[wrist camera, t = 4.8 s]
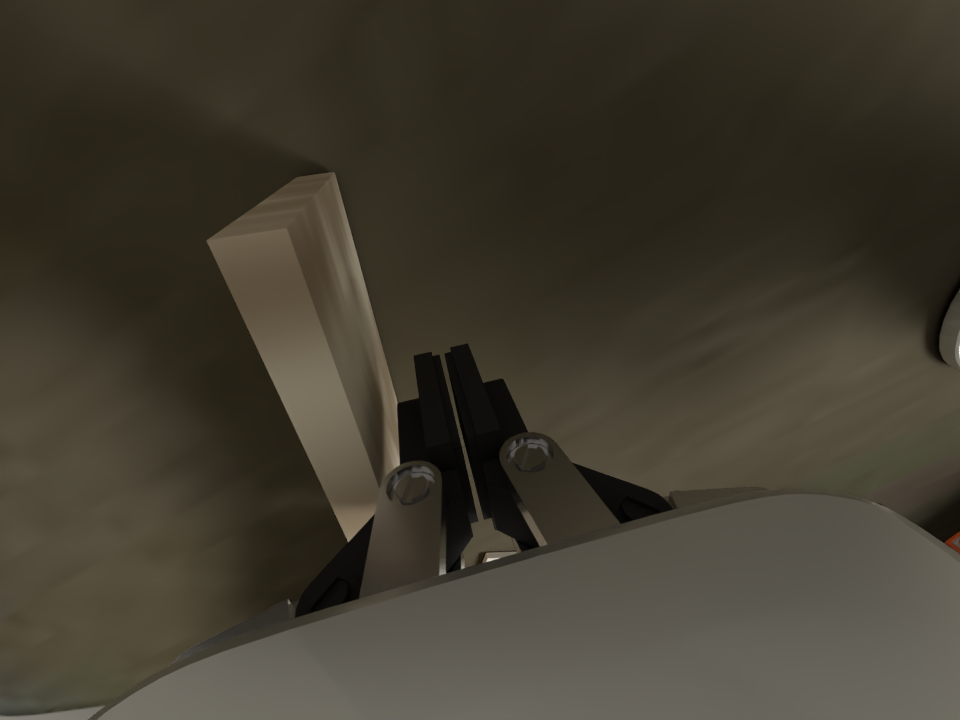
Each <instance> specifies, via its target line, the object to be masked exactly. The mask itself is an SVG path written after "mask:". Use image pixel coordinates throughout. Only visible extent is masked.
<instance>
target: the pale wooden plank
mask: <svg viewBox="0 0 960 720" xmlns="http://www.w3.org/2000/svg"><path fill="white" fill-rule="evenodd" d="M206 241H207V243H208V245H209V247H210V249H211V251H212V253H213V256H214V258H215V260H216V262H217V264H218V266H219V268H220V270H221V273H222V275H223V277H224V279H225V281H226V283H227V285H228V287H229V290H230V292H231V294H232V296H233V298H234V300H235V302H236V305H237V307H238V309H239V311H240V313H241V315H242V317H243V319H244V322H245V324H246V326H247V328H248V330H249V332H250V334H251V336H252V339H253V341H254V343H255V345H256V347H257V349H258V351H259V353H260V356H261V358H262V360H263V362H264V364H265V366H266V368H267V370H268V373H269V375H270V377H271V379H272V381H273V383H274V385H275V387H276V390H277V392H278V394H279V396H280V398H281V400H282V402H283V404H284V407H285V409H286V411H287V413H288V415H289V417H290V419H291V421H292V424H293V426H294V428H295V430H296V432H297V434H298V436H299V439H300V441H301V443H302V445H303V447H304V449H305V451H306V453H307V456H308V458H309V460H310V462H311V464H312V466H313V468H314V470H315V473H316V475H317V477H318V479H319V481H320V483H321V485H322V487H323V490H324V492H325V494H326V496H327V498H328V500H329V502H330V504H331V507H332V509H333V511H334V513H335V515H336V517H337V519H338V521H339V524H340V526H341V528H342V530H343V532H344V534H345V536H346V538H347V541H348V542H349V541H350V540H351V539H352V538H353V537H354V536H355V535H356V534H357V532H358V531H359V530H360V529H361V528H362V527H363V526H364V525H365V524H366V523H367V522H368V521H369V519H370V518H371V517H372V516H373V515H374V514H375V511H376V506H377V500H378V495H379V490H380V487H381V484H382V481H383V480H384V478H385V477H386V476H387V474H388V473H389V472H391V471H392V470H393V469H394V468H396V467H397V466H399V465H400V455H399V436H398V417H397V404H398V403H397V399H396V395H395V392H394V388H393V384H392V381H391V377H390V373H389V370H388V366H387V362H386V359H385V355H384V351H383V348H382V344H381V340H380V337H379V333H378V329H377V326H376V322H375V318H374V315H373V311H372V307H371V304H370V300H369V296H368V293H367V289H366V285H365V282H364V278H363V274H362V271H361V267H360V263H359V260H358V256H357V252H356V249H355V245H354V241H353V238H352V234H351V230H350V227H349V223H348V219H347V216H346V212H345V209H344V205H343V201H342V198H341V194H340V190H339V187H338V183H337V179H336V176H335V172H331V173H323V174H316V175H309V176H301V177H296V178H295V179H293V180H292V181H290V182H289V183H288V184H286V185H285V186H283V187H282V188H281V189H279V190H278V191H276V192H275V193H273V194H272V195H271V196H269V197H268V198H266V199H265V200H263V201H262V202H261V203H259V204H258V205H256V206H255V207H253V208H252V209H251V210H249V211H248V212H246V213H245V214H243V215H242V216H241V217H239V218H238V219H236V220H235V221H233V222H232V223H231V224H229V225H228V226H226V227H225V228H223V229H222V230H221V231H219V232H218V233H216V234H215V235H214V236H212V237H211V238H209V239H208V240H206Z"/></svg>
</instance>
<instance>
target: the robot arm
mask: <svg viewBox="0 0 960 720" xmlns="http://www.w3.org/2000/svg"><path fill="white" fill-rule="evenodd" d="M450 349H451V352H449V353H445V358H446V363H447V368H448V372H449V377H450V381H451V386H452V391H453V395H454V400H455V404H456V409H457V414H458V418H459V423H460V427H461V431H462V435H463V439H464V443H465V447H466V451H467V455H468V459H469V463H470V467H471V470H472V474H473V478H474V482H475V486H476V490H477V494H478V498H479V502H480V506H481V510H482V513H483V517H484V520H485V519H489V518H492V521H493V525H494V528H495V530H498V531H500V532H502V533H504V534H506V535H508V536H510V537H512V541H513V545H514V547H515V549H516V551H517V553H516V554H513V555H509V556H506V557H502V558H499V559H495V560H492V561H488V562H485V563H481V564H478V565H474V566H471V567H467V568H464V556H463V550H464V549H465V547H466V546H467V544H468V543H469V541H470V540H471V538H472V537H473V533H472V529H471V523H474V522H478V518H477V514H476V509H475V505H474V500H473V496H472V491H471V487H470V482H469V478H468V473H467V469H466V464H465V460H464V455H463V451H462V446H461V442H460V438H459V434H458V429H457V425H456V421H455V417H454V413H453V409H452V405H451V401H450V397H449V392H448V388H447V384H446V380H445V376H444V372H443V368H442V364H441V360H440V356H439V355H436V356H432V352H428V353H424V354H419V355H415V356H414V362H415V370H416V377H417V385H418V392H419V398H418V399H414V400H409V401H405V402H401V403H398V404H397V417H398V436H399V455H400V465H399V466H397V467H396V468H394V469H393V470H392V471H391V472H389V473H388V474H387V476H386V477H385V478H384V480H383V481H382V484H381V487H380V490H379V495H378V500H377V506H376V511H375V514H374V515H373V516H372V517H371V518H370V519H369V521H368V522H367V523H366V524H365V525H364V526H363V527H362V528H361V529H360V530H359V531H358V532H357V534H356V535H355V536H354V537H353V538H352V539H351V540H350V541H349V542H348V543H347V544H346V545H345V547H344V548H343V549H342V550H341V551H340V552H339V553H338V554H337V555H336V556H335V557H334V558H333V559H332V561H331V562H330V563H329V564H328V565H327V566H326V567H325V568H324V569H323V570H322V571H321V572H320V574H319V575H318V576H317V577H316V578H315V579H314V580H313V581H312V582H311V583H310V585H309V586H308V587H307V589H306V590H305V591H304V593H303V594H302V596H301V598H300V599H298V600H296V601H294V602H292V603H291V602H290V601H289V600H288V599H287V600H285V601H283V602H281V603H279V604H277V605H275V606H273V607H271V608H269V609H267V610H265V611H263V612H261V613H259V614H257V615H255V616H253V617H251V618H249V619H247V620H245V621H243V622H241V623H239V624H237V625H235V626H233V627H231V628H229V629H227V630H225V631H223V632H221V633H219V634H217V635H215V636H213V637H211V638H209V639H207V640H205V641H203V642H201V643H199V644H197V645H195V646H193V647H192V648H190V649H188V650H187V651H185V652H184V653H182V654H181V655H180V656H179V657H178V658H177V659H176V660H175V661H174V662H173V663H172V664H171V665H170V666H169V667H167V668H165V669H163V670H161V671H159V672H157V673H155V674H153V675H151V676H150V677H148V678H146V679H145V680H143V681H142V682H140V683H139V684H137V685H136V686H134V687H133V688H131V689H130V690H128V691H126V692H125V693H123V694H122V695H120V696H119V697H117V698H116V699H114V700H113V701H112V702H110V703H109V704H108V705H106V706H105V707H104V708H103V709H101V710H100V711H98V712H97V713H96V714H94V715H93V716H92V717H91V718H90V719H88V720H960V554H959V553H958V552H956V551H955V550H953V549H952V548H950V547H949V546H947V545H946V544H944V543H943V542H942V541H940V540H939V539H937V538H936V537H934V536H933V535H931V534H930V533H928V532H927V531H925V530H924V529H922V528H921V527H919V526H917V525H916V524H914V523H913V522H911V521H909V520H908V519H906V518H904V517H903V516H901V515H899V514H897V513H896V512H894V511H892V510H890V509H888V508H886V507H884V506H882V505H879V504H877V503H875V502H872V501H869V500H866V499H863V498H860V497H857V496H852V495H847V494H843V493H836V492H830V491H819V490H805V489H780V490H769V489H766V488H760V487H738V488H722V489H705V490H688V491H672V492H670V494H669V496H667V497H661V496H660V495H659V494H657V493H655V492H653V491H651V490H648V489H646V488H643V487H640V486H637V485H634V484H631V483H629V482H626V481H623V480H620V479H617V478H614V477H611V476H609V475H606V474H603V473H600V472H597V471H594V470H591V469H589V468H586V467H583V466H580V465H577V464H574V463H572V462H571V461H570V459H569V458H568V457H567V456H566V454H565V453H564V452H563V451H562V449H561V448H560V447H559V446H558V444H557V443H556V442H555V441H554V440H553V439H551V438H550V437H548V436H546V435H544V434H540V433H535V432H528V431H527V429H526V427H525V424H524V422H523V420H522V418H521V416H520V414H519V412H518V409H517V407H516V405H515V403H514V401H513V399H512V397H511V395H510V392H509V390H508V388H507V386H506V384H505V382H504V380H503V379H498V380H494V381H489V382H485V383H483V382H482V379H481V376H480V374H479V371H478V369H477V366H476V363H475V361H474V358H473V356H472V353H471V350H470V348H469V345H468V344H463V345H459V346H455V347H450ZM939 349H940V352H941V355H942V358H943V360H944V361H945V362H946V363H947V364H948V365H949V366H952V367H954V368H957V369H959V370H960V288H959V290H958V292H957V293H956V295H955V297H954V298H953V300H952V302H951V304H950V306H949V308H948V311H947V313H946V315H945V317H944V320H943V323H942V327H941V331H940V335H939Z"/></svg>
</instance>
